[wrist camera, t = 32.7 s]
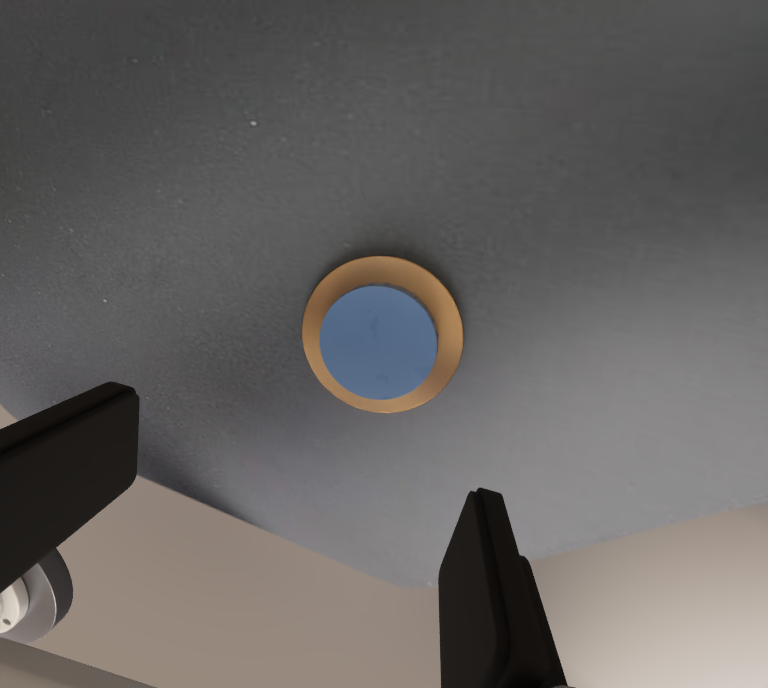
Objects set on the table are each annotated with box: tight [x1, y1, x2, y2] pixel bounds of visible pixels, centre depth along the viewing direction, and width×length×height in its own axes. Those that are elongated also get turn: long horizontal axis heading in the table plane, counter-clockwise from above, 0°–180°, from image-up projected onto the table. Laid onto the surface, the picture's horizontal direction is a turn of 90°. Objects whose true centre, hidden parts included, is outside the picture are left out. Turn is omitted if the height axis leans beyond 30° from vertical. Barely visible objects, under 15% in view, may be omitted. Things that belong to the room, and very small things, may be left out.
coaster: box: [302, 255, 463, 413], centre depth 22 cm, size 10×10×1 cm
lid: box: [319, 282, 438, 400], centre depth 21 cm, size 7×7×1 cm
